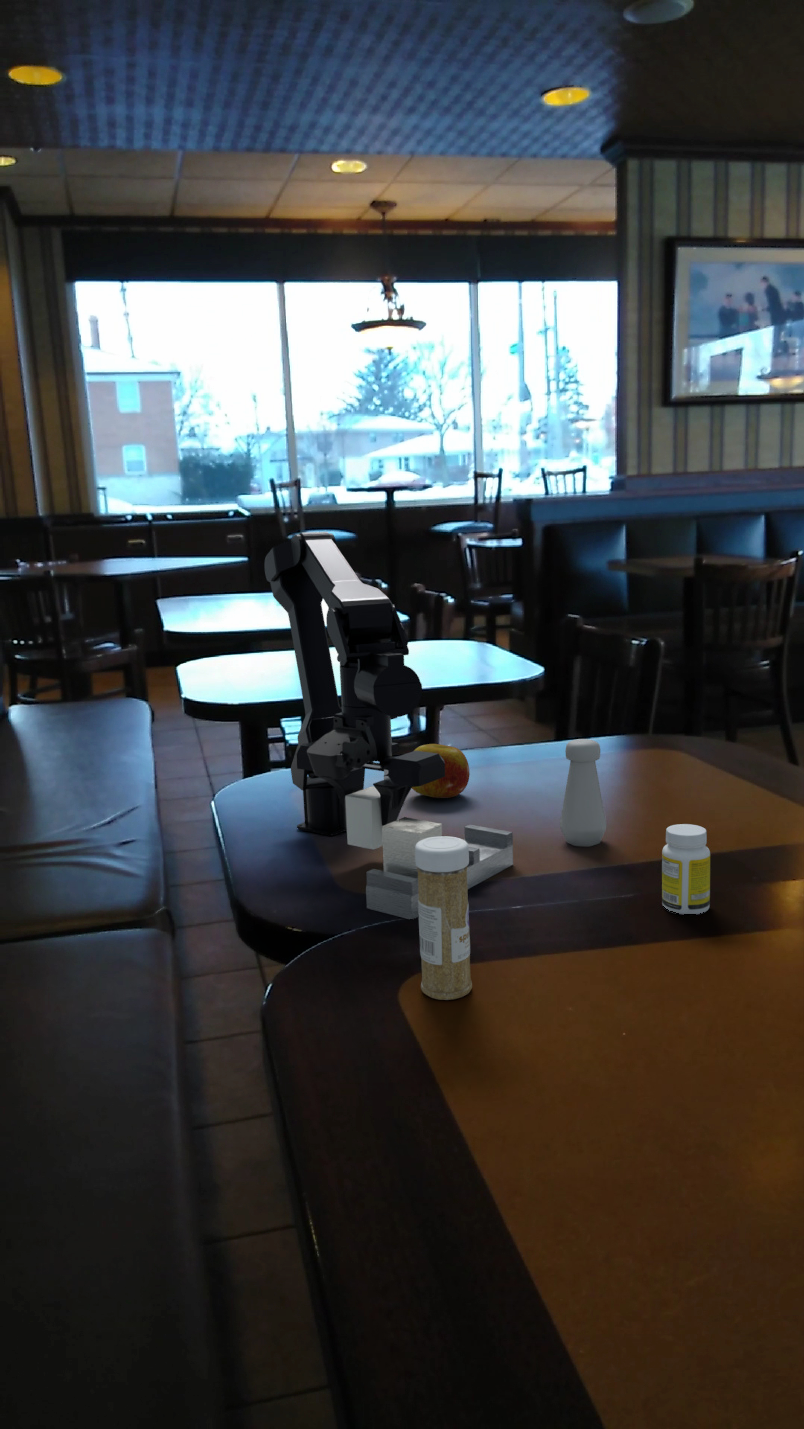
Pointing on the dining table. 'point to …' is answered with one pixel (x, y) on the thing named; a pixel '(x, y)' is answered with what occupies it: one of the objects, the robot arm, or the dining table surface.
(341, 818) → the robot arm
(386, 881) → the rail
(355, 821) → the matte gray box
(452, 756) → the fruit
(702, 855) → the supplement bottle
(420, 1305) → the dining table surface
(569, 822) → the salt shaker
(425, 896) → the spice jar
